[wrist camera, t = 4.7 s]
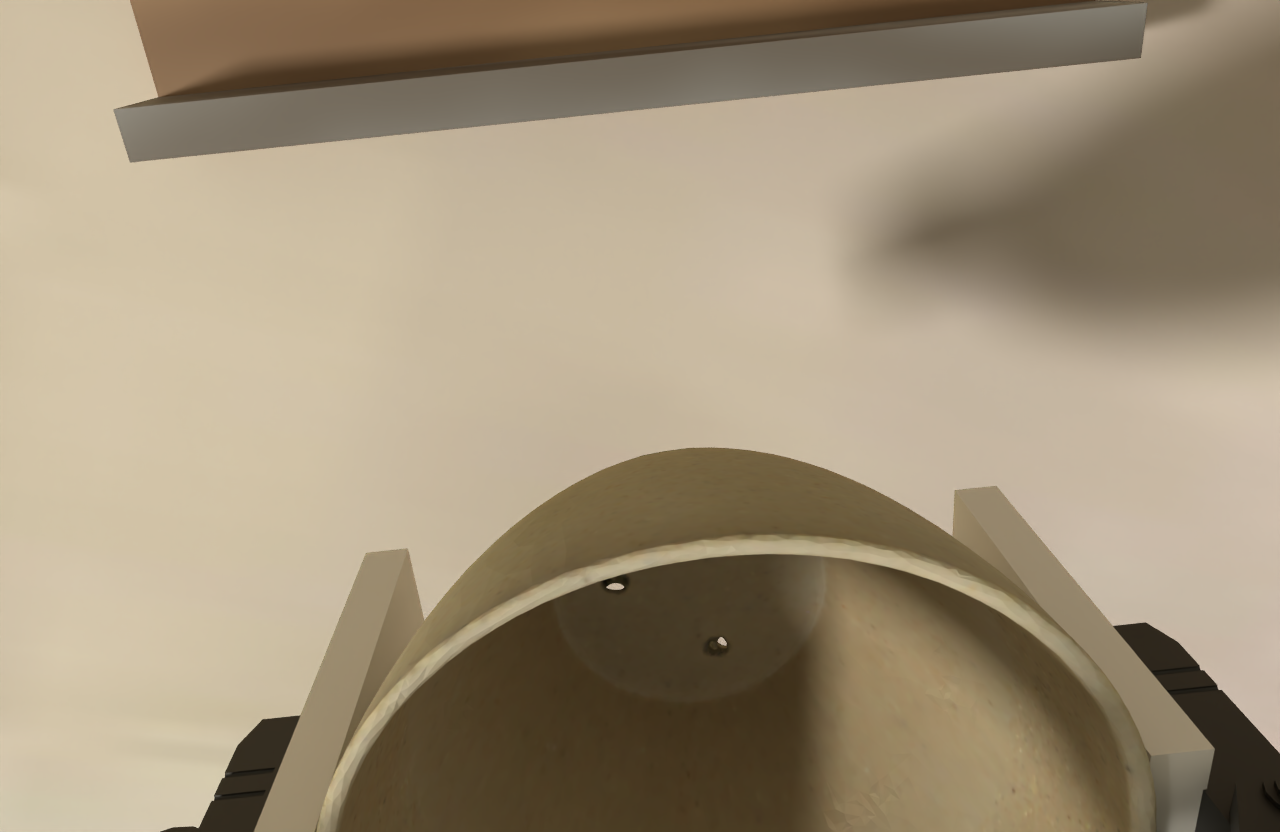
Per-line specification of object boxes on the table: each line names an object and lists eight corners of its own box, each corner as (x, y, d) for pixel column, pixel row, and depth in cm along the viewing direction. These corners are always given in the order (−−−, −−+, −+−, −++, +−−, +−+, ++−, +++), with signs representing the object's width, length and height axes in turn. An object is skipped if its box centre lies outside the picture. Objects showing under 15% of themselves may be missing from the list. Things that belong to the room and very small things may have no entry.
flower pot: (1055, 455, 17) (1344, 738, 11) (784, 830, 21) (874, 1219, 14) (548, 218, 15) (515, 388, 8) (341, 681, 18) (202, 1059, 12)
